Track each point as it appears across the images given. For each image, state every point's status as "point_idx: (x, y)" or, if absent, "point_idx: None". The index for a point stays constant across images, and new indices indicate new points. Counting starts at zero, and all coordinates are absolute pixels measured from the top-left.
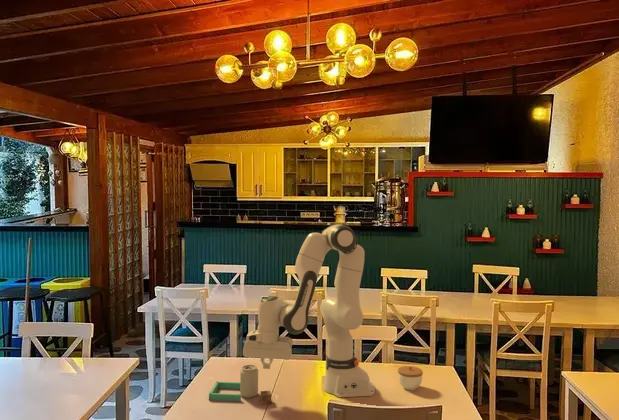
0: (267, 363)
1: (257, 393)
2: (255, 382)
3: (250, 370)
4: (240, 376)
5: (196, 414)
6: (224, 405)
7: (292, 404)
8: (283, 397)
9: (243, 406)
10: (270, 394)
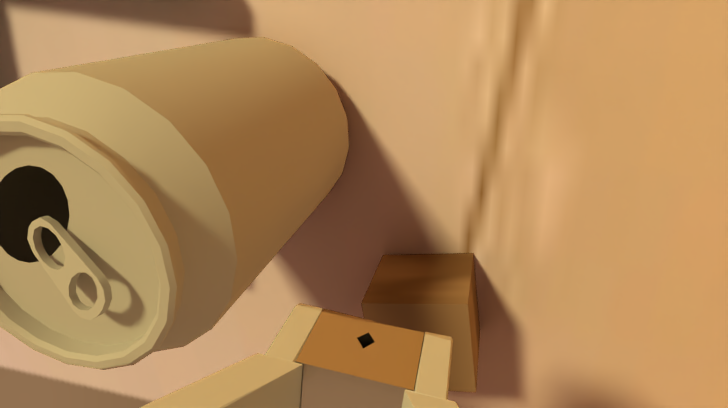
0: (363, 385)
1: (343, 165)
2: (274, 255)
3: (107, 367)
4: (51, 214)
5: (25, 371)
6: None
7: (685, 371)
8: (623, 218)
9: (261, 329)
10: (465, 389)
